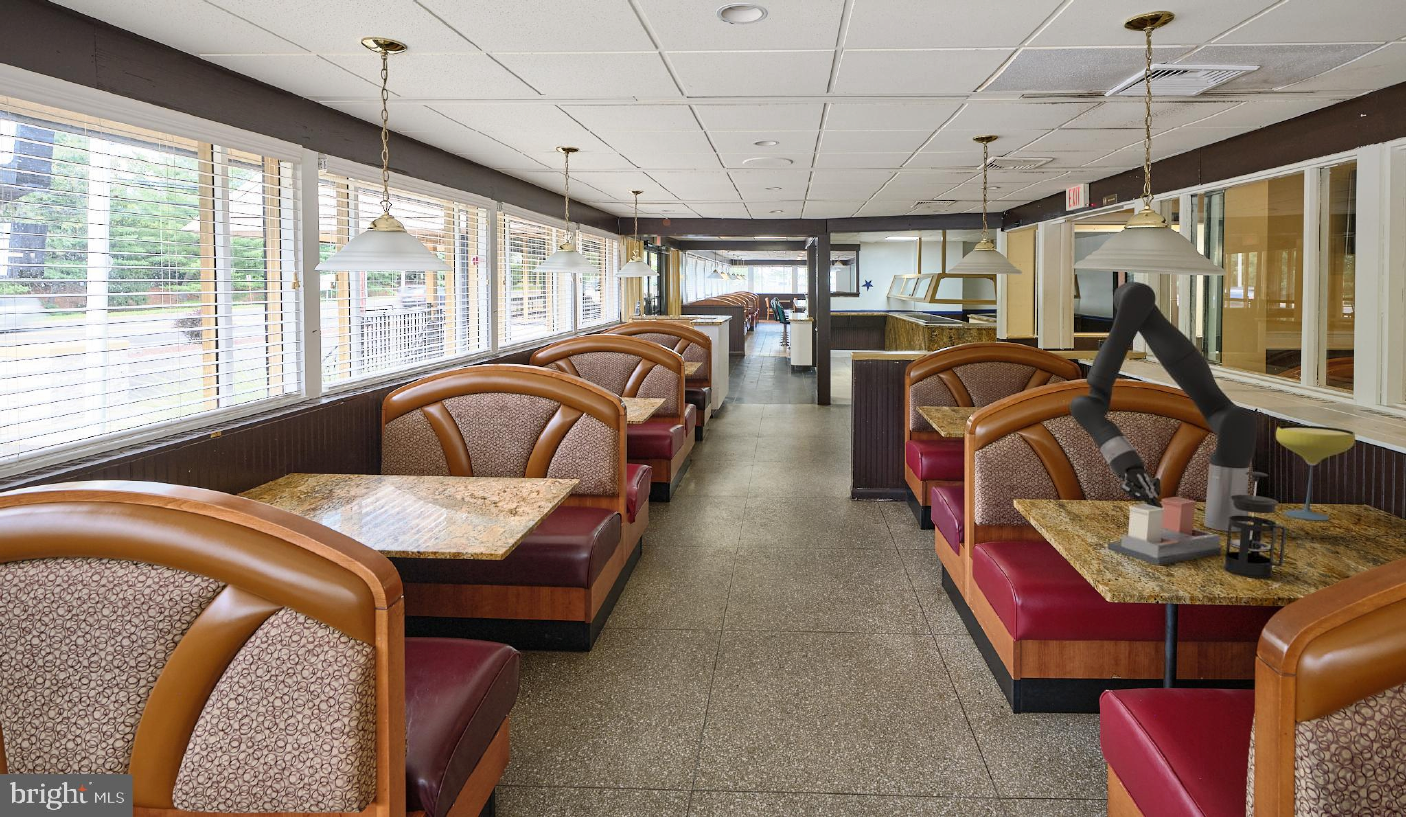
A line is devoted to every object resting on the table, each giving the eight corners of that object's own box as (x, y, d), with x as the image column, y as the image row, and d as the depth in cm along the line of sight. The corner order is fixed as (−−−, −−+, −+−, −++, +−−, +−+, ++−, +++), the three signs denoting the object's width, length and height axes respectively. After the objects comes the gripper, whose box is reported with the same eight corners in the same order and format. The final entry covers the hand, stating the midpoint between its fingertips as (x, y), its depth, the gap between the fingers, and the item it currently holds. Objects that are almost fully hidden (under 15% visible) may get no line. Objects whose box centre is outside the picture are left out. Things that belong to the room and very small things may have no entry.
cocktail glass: (1255, 512, 246) (1263, 427, 242) (1291, 505, 254) (1299, 423, 251) (1323, 527, 230) (1333, 436, 226) (1359, 519, 238) (1369, 432, 235)
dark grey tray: (1107, 548, 209) (1108, 531, 209) (1167, 538, 218) (1169, 521, 218) (1158, 565, 197) (1160, 546, 196) (1220, 553, 206) (1222, 535, 205)
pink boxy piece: (1158, 537, 213) (1161, 498, 212) (1173, 535, 215) (1176, 496, 214) (1178, 543, 208) (1181, 503, 207) (1193, 540, 211) (1196, 501, 209)
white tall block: (1126, 546, 206) (1129, 506, 204) (1141, 543, 208) (1144, 503, 207) (1145, 552, 201) (1149, 511, 200) (1161, 549, 203) (1164, 508, 202)
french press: (1214, 570, 193) (1222, 471, 190) (1227, 561, 199) (1236, 466, 196) (1274, 583, 184) (1284, 480, 181) (1286, 574, 191) (1296, 474, 188)
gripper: (1113, 450, 220) (1152, 507, 210) (1148, 447, 225) (1188, 502, 216) (1095, 467, 225) (1132, 523, 216) (1129, 463, 230) (1167, 517, 221)
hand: (1160, 512), depth 216 cm, fingers closed
